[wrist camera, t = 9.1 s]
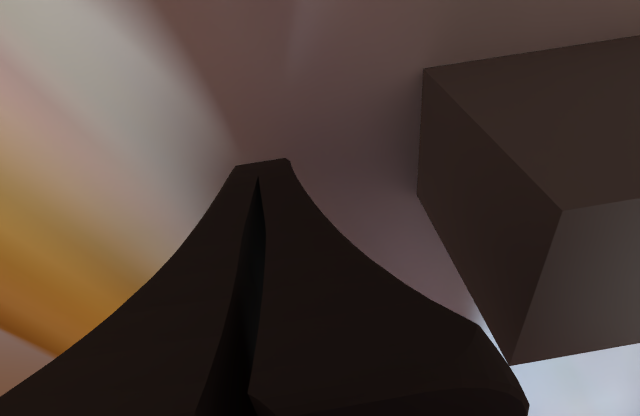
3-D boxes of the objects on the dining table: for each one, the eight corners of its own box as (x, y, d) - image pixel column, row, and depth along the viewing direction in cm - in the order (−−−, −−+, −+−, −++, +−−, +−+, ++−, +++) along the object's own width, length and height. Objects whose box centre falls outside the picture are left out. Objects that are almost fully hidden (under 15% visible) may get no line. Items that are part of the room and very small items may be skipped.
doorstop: (415, 192, 13) (508, 365, 8) (422, 67, 10) (562, 210, 6) (657, 153, 13) (886, 298, 8) (720, 21, 10) (1099, 121, 6)
